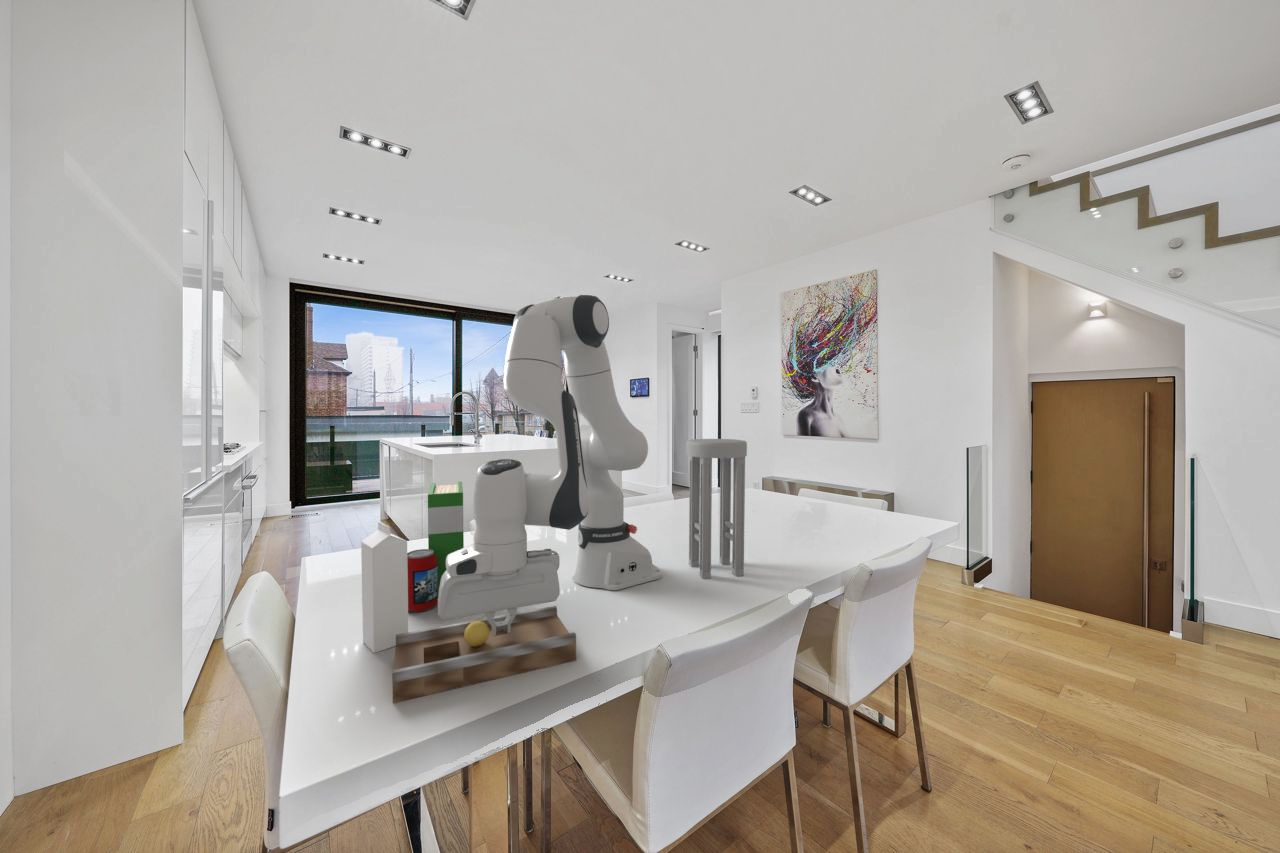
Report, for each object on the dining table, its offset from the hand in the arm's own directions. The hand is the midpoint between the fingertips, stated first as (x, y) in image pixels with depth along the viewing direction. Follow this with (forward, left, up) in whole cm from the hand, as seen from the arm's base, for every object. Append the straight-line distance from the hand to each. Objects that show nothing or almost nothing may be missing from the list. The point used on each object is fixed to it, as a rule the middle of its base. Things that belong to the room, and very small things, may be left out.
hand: (501, 633), depth 82 cm
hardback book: (+6, -41, -5) cm, 41 cm away
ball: (+4, 0, +1) cm, 4 cm away
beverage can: (+12, -29, -5) cm, 32 cm away
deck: (+2, 0, -4) cm, 5 cm away
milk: (+18, -15, -5) cm, 24 cm away
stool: (-60, -22, -5) cm, 64 cm away
